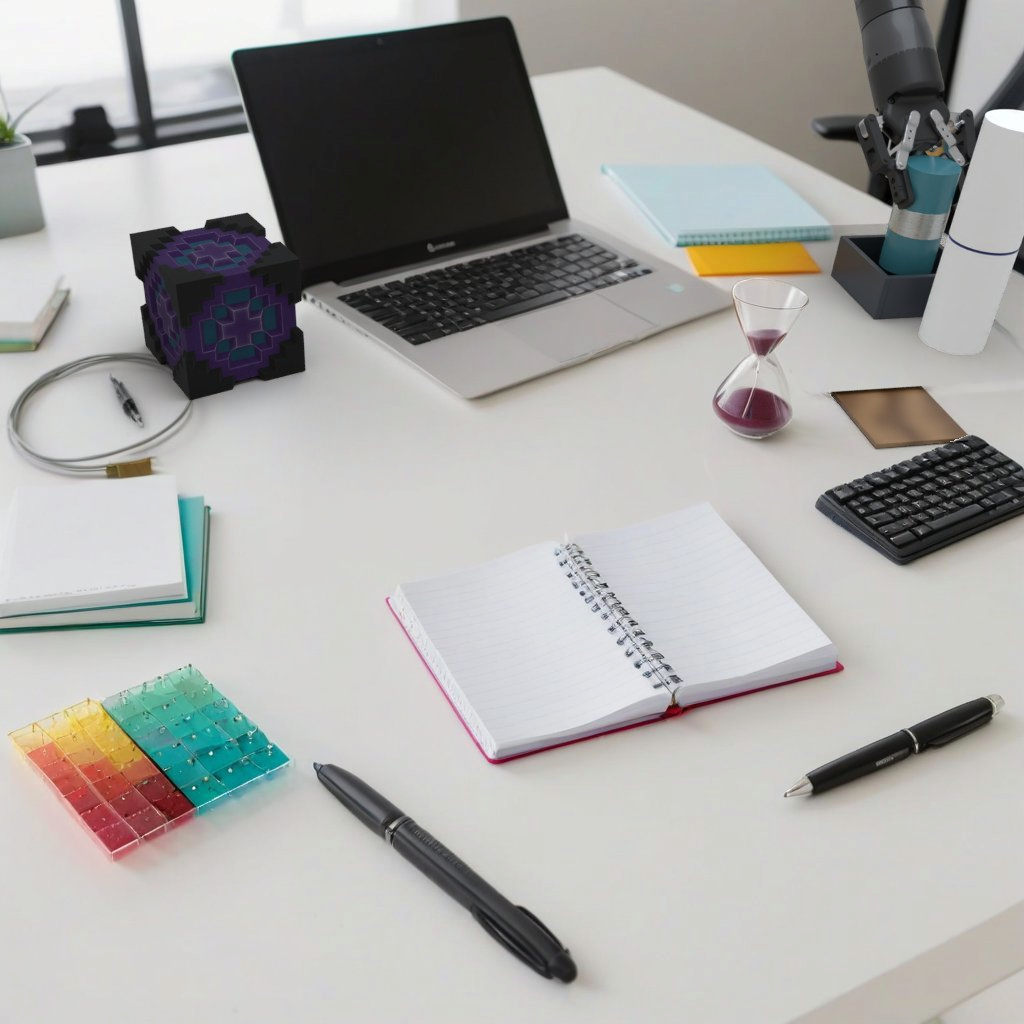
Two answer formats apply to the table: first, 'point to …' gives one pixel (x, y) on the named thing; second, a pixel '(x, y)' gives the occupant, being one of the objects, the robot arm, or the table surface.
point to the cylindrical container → (980, 240)
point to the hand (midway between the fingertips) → (932, 204)
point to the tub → (880, 279)
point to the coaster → (899, 416)
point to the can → (920, 216)
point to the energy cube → (219, 303)
